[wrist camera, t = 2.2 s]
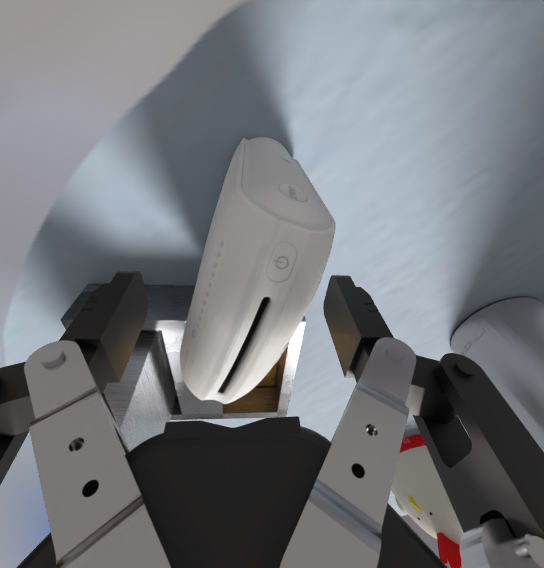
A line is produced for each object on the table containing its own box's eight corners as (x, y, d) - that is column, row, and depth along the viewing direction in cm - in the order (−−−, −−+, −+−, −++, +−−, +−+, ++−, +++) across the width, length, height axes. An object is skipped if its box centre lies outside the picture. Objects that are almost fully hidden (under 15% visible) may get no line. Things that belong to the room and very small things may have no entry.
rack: (298, 287, 23) (326, 414, 15) (282, 382, 32) (294, 499, 23) (87, 283, 22) (-22, 422, 13) (130, 385, 30) (80, 510, 21)
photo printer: (239, 121, 16) (220, 195, 6) (305, 150, 17) (383, 252, 7) (199, 263, 21) (156, 423, 12) (252, 277, 22) (253, 434, 13)
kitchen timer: (413, 427, 41) (479, 570, 29) (478, 437, 45) (560, 567, 33) (361, 463, 49) (398, 589, 37) (421, 469, 53) (471, 585, 41)
